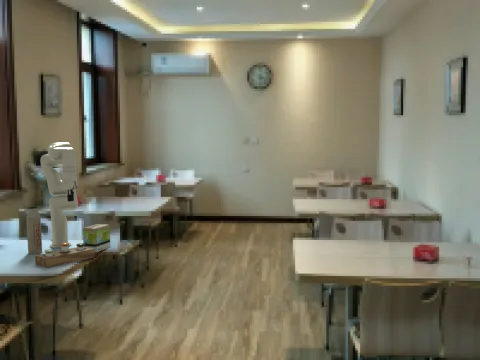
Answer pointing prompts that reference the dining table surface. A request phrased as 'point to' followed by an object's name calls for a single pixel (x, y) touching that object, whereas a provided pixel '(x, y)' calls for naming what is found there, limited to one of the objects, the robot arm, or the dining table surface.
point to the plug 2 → (80, 246)
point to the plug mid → (65, 247)
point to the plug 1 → (48, 253)
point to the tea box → (97, 237)
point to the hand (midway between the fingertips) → (70, 201)
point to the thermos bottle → (34, 231)
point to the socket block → (64, 257)
